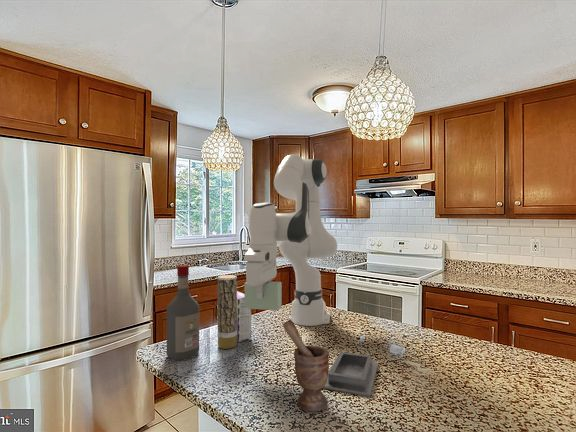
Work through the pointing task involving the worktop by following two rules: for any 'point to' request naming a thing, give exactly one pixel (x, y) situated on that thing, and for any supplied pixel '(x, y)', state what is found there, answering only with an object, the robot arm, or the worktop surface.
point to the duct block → (270, 299)
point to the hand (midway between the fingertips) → (263, 296)
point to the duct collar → (352, 374)
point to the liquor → (182, 321)
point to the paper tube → (227, 311)
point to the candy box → (243, 319)
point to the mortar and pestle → (309, 370)
